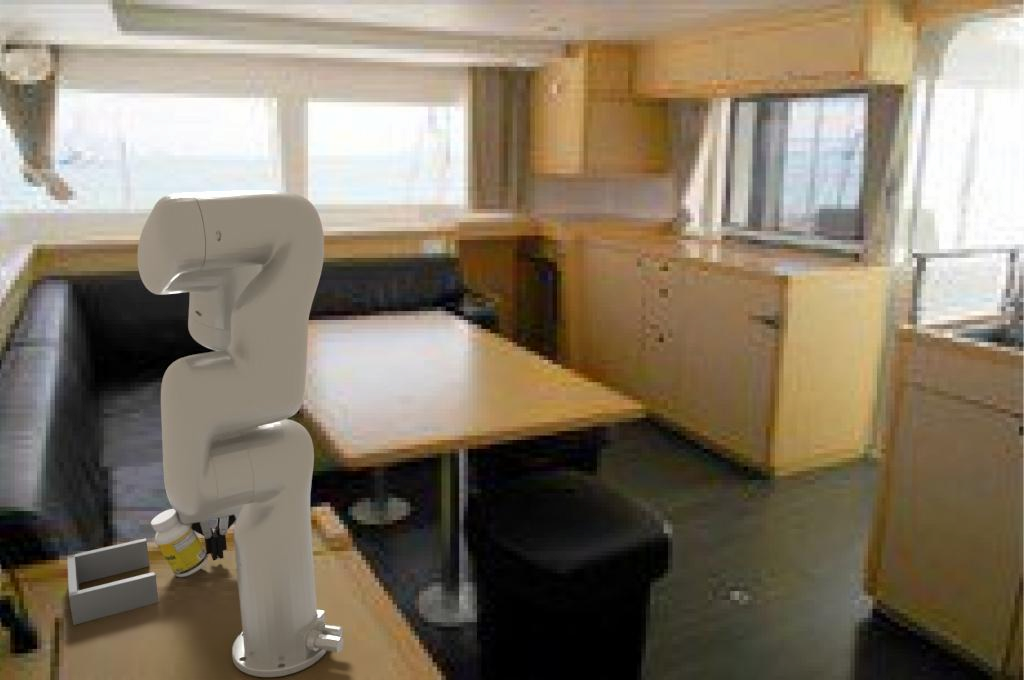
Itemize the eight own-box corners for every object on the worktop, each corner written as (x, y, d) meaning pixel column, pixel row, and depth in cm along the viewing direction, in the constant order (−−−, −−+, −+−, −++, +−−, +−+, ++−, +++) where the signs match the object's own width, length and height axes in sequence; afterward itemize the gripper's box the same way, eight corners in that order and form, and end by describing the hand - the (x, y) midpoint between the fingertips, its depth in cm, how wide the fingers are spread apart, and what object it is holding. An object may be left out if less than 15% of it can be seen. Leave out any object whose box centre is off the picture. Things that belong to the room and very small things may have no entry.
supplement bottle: (170, 572, 121) (141, 522, 118) (201, 551, 124) (174, 502, 121) (182, 582, 117) (152, 530, 114) (214, 560, 120) (186, 509, 117)
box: (149, 563, 124) (145, 538, 122) (158, 602, 113) (155, 574, 112) (71, 582, 118) (67, 555, 117) (73, 625, 107) (68, 596, 106)
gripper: (251, 433, 125) (259, 534, 130) (151, 449, 118) (163, 556, 123) (261, 448, 119) (269, 554, 123) (156, 466, 112) (169, 579, 116)
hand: (216, 555), depth 123 cm, fingers closed
